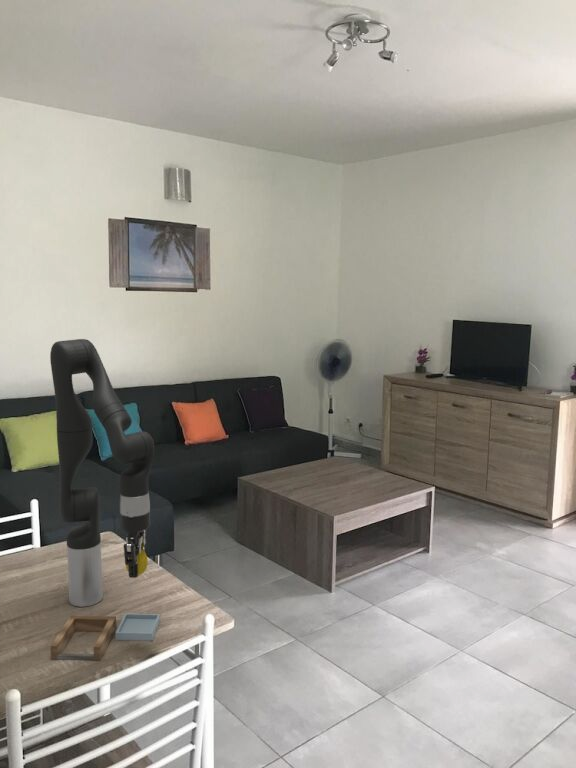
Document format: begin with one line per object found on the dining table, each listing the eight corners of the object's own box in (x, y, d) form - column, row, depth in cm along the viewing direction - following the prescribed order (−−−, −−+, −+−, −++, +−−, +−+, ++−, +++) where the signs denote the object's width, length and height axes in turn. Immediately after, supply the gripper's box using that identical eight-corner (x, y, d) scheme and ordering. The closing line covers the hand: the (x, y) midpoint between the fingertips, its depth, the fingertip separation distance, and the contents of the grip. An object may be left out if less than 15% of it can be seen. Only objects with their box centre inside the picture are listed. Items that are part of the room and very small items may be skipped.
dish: (125, 620, 172) (125, 613, 171) (160, 620, 172) (159, 614, 171) (115, 639, 162) (115, 632, 162) (152, 640, 162) (152, 633, 162)
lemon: (139, 569, 168) (138, 541, 167) (152, 576, 165) (151, 547, 163) (121, 577, 164) (120, 548, 163) (134, 583, 161) (134, 554, 159)
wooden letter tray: (71, 627, 168) (70, 615, 167) (116, 628, 168) (116, 616, 167) (51, 659, 154) (50, 646, 153) (100, 660, 154) (99, 647, 153)
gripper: (127, 499, 168) (129, 558, 171) (112, 520, 154) (114, 584, 157) (155, 500, 168) (156, 559, 171) (142, 520, 154) (144, 585, 157)
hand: (136, 571), depth 164 cm, fingers closed on lemon, 5 cm apart
